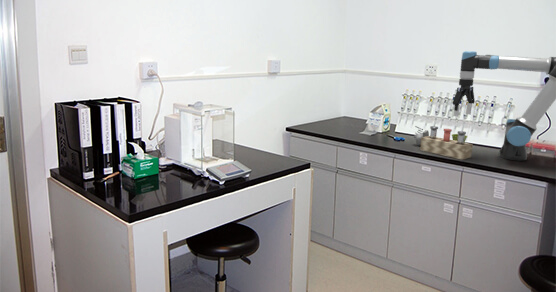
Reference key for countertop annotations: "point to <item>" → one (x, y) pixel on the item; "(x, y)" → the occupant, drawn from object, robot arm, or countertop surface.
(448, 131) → the red plug
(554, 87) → the robot arm
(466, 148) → the block
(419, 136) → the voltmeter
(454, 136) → the plant pot
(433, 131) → the plug far
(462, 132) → the plug near
